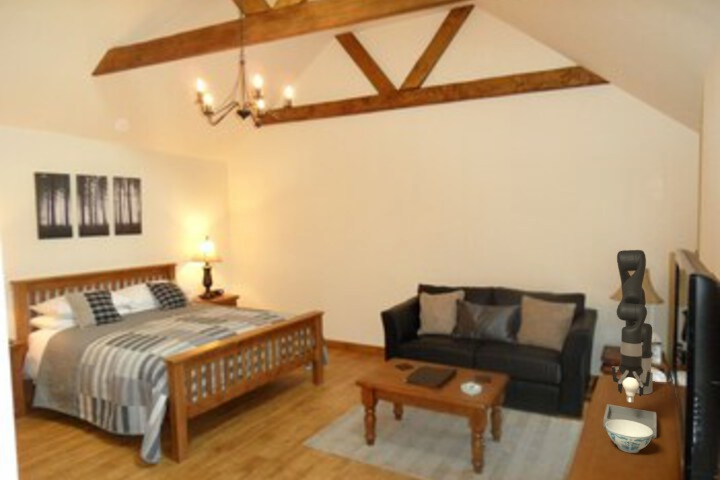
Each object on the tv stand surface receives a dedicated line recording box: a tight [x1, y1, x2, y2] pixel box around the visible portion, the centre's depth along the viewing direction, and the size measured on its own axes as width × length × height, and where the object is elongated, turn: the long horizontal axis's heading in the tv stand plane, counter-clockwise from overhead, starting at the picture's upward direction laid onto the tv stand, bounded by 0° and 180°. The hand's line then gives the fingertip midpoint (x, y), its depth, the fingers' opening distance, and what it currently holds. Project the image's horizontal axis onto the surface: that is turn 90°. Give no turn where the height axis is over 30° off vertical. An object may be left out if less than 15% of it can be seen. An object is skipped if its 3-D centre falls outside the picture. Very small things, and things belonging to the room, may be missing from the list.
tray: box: [602, 403, 657, 439], centre depth 198 cm, size 18×18×4 cm
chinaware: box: [605, 420, 653, 454], centre depth 178 cm, size 15×15×8 cm
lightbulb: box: [622, 377, 640, 404], centre depth 198 cm, size 6×6×11 cm
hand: (630, 394), depth 198 cm, fingers closed on lightbulb, 6 cm apart
